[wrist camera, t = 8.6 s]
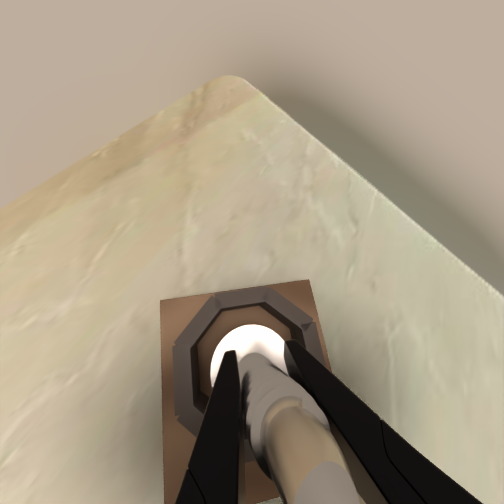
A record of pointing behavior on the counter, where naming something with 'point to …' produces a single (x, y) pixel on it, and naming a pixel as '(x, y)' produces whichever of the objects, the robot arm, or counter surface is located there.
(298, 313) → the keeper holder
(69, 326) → the counter surface
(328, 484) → the screw
